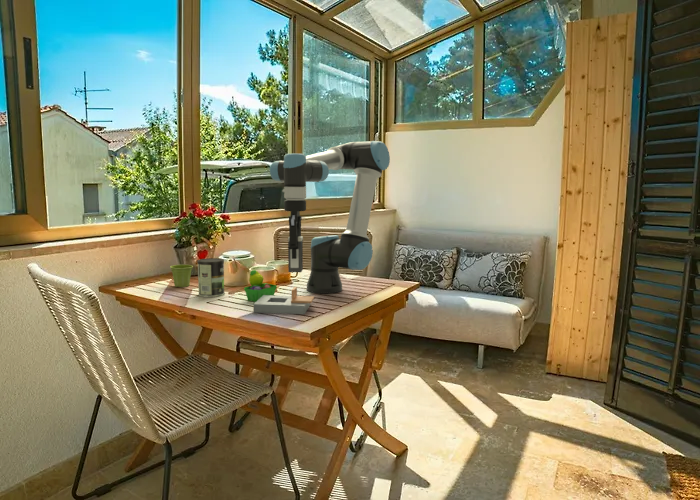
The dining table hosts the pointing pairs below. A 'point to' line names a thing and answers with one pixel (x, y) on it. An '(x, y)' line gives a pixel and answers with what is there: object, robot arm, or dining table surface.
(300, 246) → the plug
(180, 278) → the plant pot
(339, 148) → the robot arm
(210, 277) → the coffee can
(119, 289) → the dining table surface
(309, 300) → the tan plate with tab
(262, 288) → the fruit basket
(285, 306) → the socket
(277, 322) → the dining table surface
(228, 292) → the dining table surface
